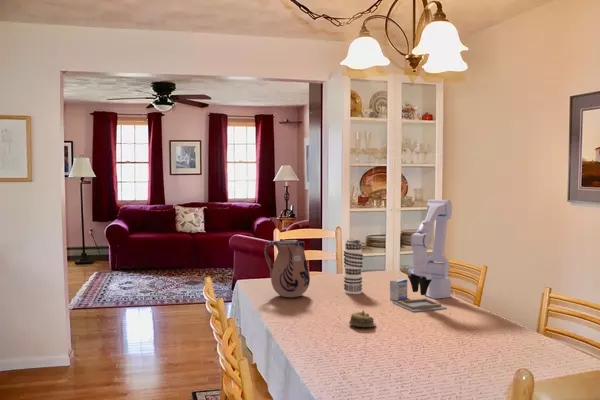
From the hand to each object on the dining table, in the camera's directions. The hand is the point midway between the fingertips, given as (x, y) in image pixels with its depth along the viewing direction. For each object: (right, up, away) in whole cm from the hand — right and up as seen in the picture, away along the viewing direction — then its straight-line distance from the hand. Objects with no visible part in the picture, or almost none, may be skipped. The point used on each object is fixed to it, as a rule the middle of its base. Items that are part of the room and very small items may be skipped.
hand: (419, 293), depth 219 cm
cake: (-27, -7, -27) cm, 39 cm away
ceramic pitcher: (-57, -5, +19) cm, 60 cm away
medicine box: (-6, -5, +13) cm, 15 cm away
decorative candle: (-25, -4, +27) cm, 37 cm away
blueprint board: (0, -5, 0) cm, 5 cm away
